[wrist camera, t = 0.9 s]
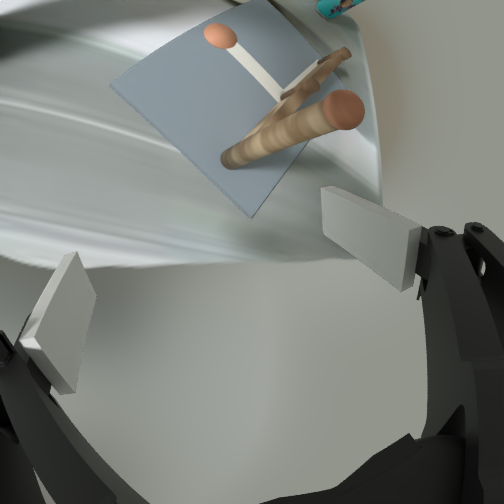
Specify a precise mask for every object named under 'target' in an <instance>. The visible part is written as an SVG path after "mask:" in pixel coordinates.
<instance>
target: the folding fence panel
mask: <svg viewBox="0 0 504 504" xmlns="http://www.w3.org/2000/svg"><path fill="white" fill-rule="evenodd" d="M308 97H309V96H308V95H307V93H306V92H305V91H304V90H303V89H302V87H301V88H299V89H298V90H297V91H296V92H295V93H294V94H292V95H291V96H289V97H287V98H285V99H284V100H282V101H280V102H278V103H277V104H276V105H275V106H274V107H273V108H272V109H271V110H270V111H269V112H268V113H267V115H266V116H265V117H264V118H263V119H262V120H261V121H260V122H259V123H258V124H257V125H256V126H255V127H254V128H253V129H252V130H251V131H250V132H249V133H248V134H247V135H246V136H245V138H244V139H243V140H242V141H240V142H239V143H237V144H235V145H233V146H232V147H230V148H228V149H226V150H225V151H223V152H222V154H221V157H220V160H221V163H222V165H223V166H224V167H225V168H226V169H229V170H233V169H236V168H238V167H240V166H243V165H245V164H248V163H250V162H253V161H255V160H257V159H260V158H262V157H265V156H267V155H270V154H273V153H275V152H278V151H280V150H283V149H286V148H288V147H291V146H294V145H296V144H299V143H302V142H305V141H307V140H310V139H313V138H316V137H319V136H322V135H325V134H327V133H330V132H333V131H336V130H339V129H340V130H351V129H354V128H356V127H357V126H358V125H359V124H360V123H361V122H362V120H363V118H364V114H365V109H364V105H363V102H362V100H361V99H360V98H359V97H358V96H357V95H356V94H355V93H353V92H351V91H348V90H343V89H340V90H335V91H333V92H331V93H330V94H328V95H327V96H326V98H325V99H323V100H321V101H319V102H317V103H314V104H312V105H310V106H308V107H306V108H304V109H302V110H300V111H298V112H296V113H294V112H295V111H296V110H297V109H298V108H299V107H300V105H301V104H302V103H303V102H304V101H305V100H306V99H307V98H308ZM293 113H294V114H293Z"/></svg>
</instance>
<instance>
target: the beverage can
mask: <svg viewBox="0 0 504 504" xmlns="http://www.w3.org/2000/svg"><path fill="white" fill-rule="evenodd" d="M363 1H365V0H320V1H319V2H318V4H317V5H316V10H317V12H318V13H319V14H320V15H321V16H322V17H324V18H326V19H330V18H335V17H336V16H338V15H340V14H341V13H343V12H345V11H347V10H348V9H350V8H352V7H354V6H356V5H357V4H359V3H361V2H363Z"/></svg>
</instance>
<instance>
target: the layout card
mask: <svg viewBox="0 0 504 504" xmlns="http://www.w3.org/2000/svg"><path fill="white" fill-rule="evenodd" d="M321 59H323V58H322V57H321V56H320V55H319V54H318V52H317V51H316V50H315V49H314V48H313V47H312V46H311V44H310V43H309V42H308V41H307V40H306V39H305V38H304V37H303V36H302V35H301V33H300V32H299V31H298V30H297V29H296V28H295V27H294V26H293V25H292V24H291V23H290V22H289V21H288V20H287V19H286V18H285V17H284V16H283V15H282V14H281V13H280V12H279V11H278V10H277V9H276V8H275V7H274V6H272V5H271V4H270V3H269V2H268V1H267V0H251V1H248V2H246V3H244V4H241V5H239V6H237V7H234V8H232V9H230V10H228V11H226V12H223V13H221V14H219V15H217V16H215V17H213V18H211V19H209V20H207V21H205V22H203V23H201V24H199V25H198V26H196V27H194V28H192V29H190V30H189V31H187V32H185V33H183V34H182V35H180V36H178V37H176V38H175V39H173V40H171V41H170V42H168V43H167V44H165V45H163V46H162V47H160V48H159V49H157V50H156V51H154V52H153V53H151V54H150V55H148V56H147V57H145V58H144V59H143V60H141V61H140V62H138V63H137V64H136V65H134V66H133V67H131V68H130V69H129V70H127V71H126V72H125V73H123V74H122V75H121V76H120V77H118V78H117V79H116V80H115V81H113V82H112V83H111V84H110V85H109V86H110V87H111V88H112V89H113V90H114V91H115V92H117V93H118V94H119V95H120V96H121V97H122V98H123V99H124V100H125V101H126V102H128V103H129V104H130V105H131V106H132V107H133V108H134V109H135V110H136V111H137V112H138V113H140V114H141V115H142V116H143V117H144V118H145V119H146V120H147V121H148V122H149V123H150V124H151V125H153V126H154V127H155V128H156V129H157V130H158V131H159V132H160V133H161V134H162V135H163V136H164V137H165V138H167V139H168V140H169V141H170V142H171V143H172V144H173V145H174V146H175V147H176V148H177V149H178V150H179V151H180V152H181V153H182V154H184V155H185V156H186V157H187V158H188V159H189V160H190V161H191V162H192V163H193V164H194V165H195V166H196V167H197V168H198V169H199V170H200V171H201V172H202V173H204V174H205V175H206V176H207V177H208V178H209V179H210V180H211V181H212V182H213V183H214V184H215V185H216V186H217V187H218V188H219V189H220V190H221V191H222V192H223V193H224V194H225V195H226V196H227V197H228V198H229V199H230V200H232V201H233V202H234V203H235V204H236V205H237V206H238V207H239V208H240V209H241V210H242V211H243V212H244V213H245V214H246V215H247V216H248V217H249V218H252V216H253V215H254V214H255V212H256V211H257V210H258V208H259V207H260V205H261V204H262V203H263V201H264V200H265V199H266V197H267V196H268V195H269V193H270V192H271V190H272V189H273V188H274V186H275V185H276V184H277V182H278V181H279V180H280V178H281V177H282V176H283V174H284V173H285V172H286V170H287V169H288V168H289V166H290V165H291V164H292V162H293V161H294V160H295V158H296V157H297V156H298V154H299V153H300V152H301V150H302V149H303V148H304V146H305V145H306V144H307V142H308V141H309V140H307V141H305V142H302V143H299V144H296V145H294V146H291V147H288V148H286V149H283V150H280V151H278V152H275V153H273V154H270V155H267V156H265V157H262V158H260V159H257V160H255V161H253V162H250V163H248V164H245V165H243V166H240V167H238V168H236V169H233V170H229V169H226V168H225V167H224V166H223V165H222V163H221V160H220V157H221V154H222V152H223V151H225V150H226V149H228V148H230V147H232V146H233V145H235V144H237V143H239V142H240V141H242V140H243V139H244V138H245V136H246V135H247V134H248V133H249V132H250V131H251V130H252V129H253V128H254V127H255V126H256V125H257V124H258V123H259V122H260V121H261V120H262V119H263V118H264V117H265V116H266V115H267V113H268V112H269V111H270V110H271V109H272V108H273V107H274V106H275V105H276V104H277V103H278V102H280V101H281V100H280V96H281V95H282V94H283V93H285V92H287V91H288V90H290V89H292V88H293V87H295V86H296V85H297V84H298V83H299V82H300V81H301V80H302V79H303V78H304V77H305V76H306V75H308V74H309V73H310V72H311V71H312V70H313V69H314V68H315V67H316V66H317V62H318V61H319V60H321ZM340 89H343V90H347V89H346V87H345V86H344V85H343V83H342V82H341V81H340V79H339V78H338V77H337V75H336V74H335V73H334V72H332V73H331V74H330V75H329V76H328V77H327V78H326V79H325V80H324V81H323V82H322V83H321V84H320V90H319V91H317V92H315V93H313V94H311V95H309V97H308V98H307V99H306V100H305V101H304V102H303V103H302V104H301V105H300V107H299V108H298V109H297V110H296V111H295V112H294V113H296V112H298V111H300V110H302V109H304V108H306V107H308V106H310V105H312V104H314V103H317V102H319V101H321V100H323V99H325V98H326V96H327V95H328V94H330V93H331V92H333V91H335V90H340ZM294 113H293V114H294Z"/></svg>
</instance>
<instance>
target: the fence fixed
mask: <svg viewBox="0 0 504 504" xmlns="http://www.w3.org/2000/svg"><path fill="white" fill-rule="evenodd" d="M350 57H351V53H350V51H349V50H348V49H347V48H346V47H343V48H341V49H339V50H337V51H335V52H333V53H332V54H330V55H328V56H326V57H324V58H323V59H321V60H319V61H318V62H317V66H316V67H315V68H314V69H313V70H312V71H311V72H310V73H309V74H308V75H306V76H305V77H304V78H303V79H302V80H301V81H300V82H299V83H298V84H297V85H296V86H295V87H293V88H292V89H290V90H288V91H287V92H285V93H283V94H282V95H281V96H280V100H281V101H282V100H284V99H285V98H287V97H289V96H291V95H292V94H294V93H295V92H296V91H297V90H298V89H299V88H301V87H302V89H303V90H304V91H305V92H306V93H307V95H308V96H309V95H311V94H313V93H315V92H317V91H319V90H320V84H321V83H322V82H323V81H324V80H325V79H326V78H327V77H328V76H329V75H330V74H331V73H332V72H333V71H334V70H335V68H336V67H337V66H338V65H339V64H340V63H341V62H342V61H344V60H346V59H348V58H350Z"/></svg>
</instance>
